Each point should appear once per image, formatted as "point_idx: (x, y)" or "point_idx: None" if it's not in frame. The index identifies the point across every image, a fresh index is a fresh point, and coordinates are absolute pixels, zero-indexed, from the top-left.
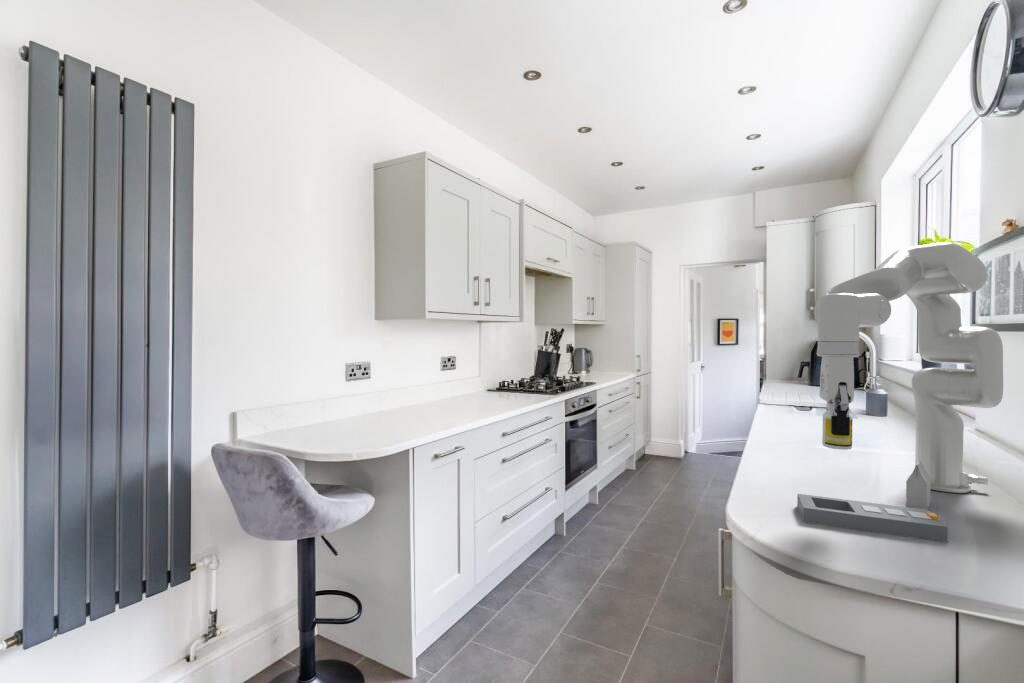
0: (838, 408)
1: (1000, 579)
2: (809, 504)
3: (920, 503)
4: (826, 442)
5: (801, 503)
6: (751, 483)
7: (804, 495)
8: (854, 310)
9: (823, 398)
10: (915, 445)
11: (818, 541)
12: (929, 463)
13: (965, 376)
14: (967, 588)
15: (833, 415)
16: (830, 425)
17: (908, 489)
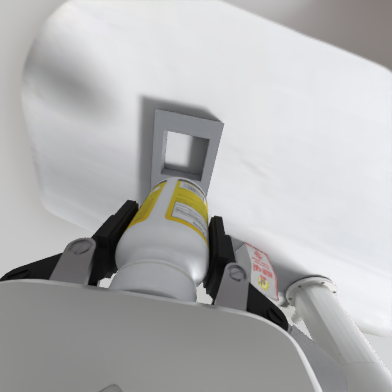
0: (8, 273)
1: (87, 224)
2: (173, 124)
3: (238, 253)
4: (162, 182)
5: (179, 114)
6: (342, 74)
7: (216, 132)
8: None
9: (97, 298)
10: (353, 326)
11: (95, 104)
12: (317, 309)
13: None
14: (54, 195)
15: (90, 241)
16: (136, 214)
17: (247, 257)
